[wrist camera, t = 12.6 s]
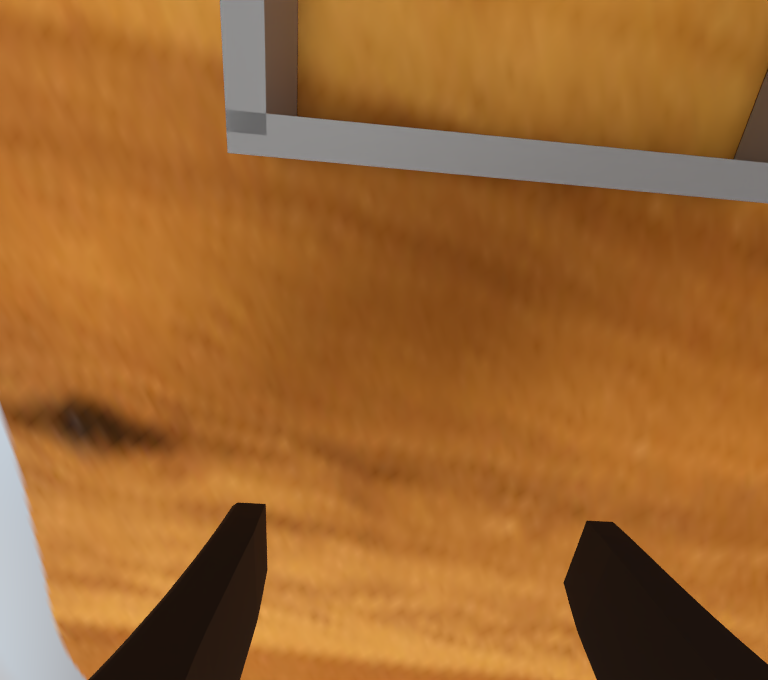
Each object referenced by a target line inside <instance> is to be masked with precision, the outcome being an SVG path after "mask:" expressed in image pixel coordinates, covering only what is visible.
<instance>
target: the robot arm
mask: <svg viewBox="0 0 768 680" xmlns="http://www.w3.org/2000/svg"><path fill="white" fill-rule="evenodd" d="M266 574H267V539H266V504H254V503H236V504H235V505H233V506H232V508H231V509H230V511H229V512H228V514H227V515H226V517H225V518H224V519H223V521H222V522H221V524H220V525H219V527H218V528H217V529H216V531H215V532H214V534H213V535H212V536H211V538H210V539H209V541H208V542H207V543H206V545H205V546H204V547H203V549H202V550H201V551H200V552H199V554H198V555H197V556H196V558H195V559H194V560H193V562H192V563H191V564H190V565H189V567H188V568H187V569H186V570H185V572H184V573H183V574H182V575H181V577H180V578H179V579H178V580H177V582H176V583H175V584H174V585H173V587H172V588H171V589H170V590H169V592H168V593H167V594H166V595H165V596H164V598H163V599H162V600H161V601H160V602H159V603H158V604H157V606H156V607H155V608H154V609H153V610H152V611H151V612H150V614H149V615H148V616H147V617H146V618H145V619H144V620H143V622H142V623H141V624H140V625H139V626H138V627H137V628H136V630H135V631H134V632H133V633H132V634H131V635H130V636H129V638H128V639H127V640H126V641H125V642H124V643H123V644H122V645H121V646H120V647H119V648H118V649H117V650H116V652H115V653H114V654H113V655H112V656H111V657H110V658H109V659H108V660H107V661H106V662H105V663H104V664H103V665H102V666H101V667H100V668H99V670H98V671H97V672H96V673H95V674H94V675H93V676H92V677H91V678H90V679H89V680H240V678H241V674H242V671H243V668H244V664H245V661H246V657H247V654H248V651H249V647H250V644H251V640H252V637H253V634H254V630H255V627H256V623H257V620H258V615H259V610H260V605H261V600H262V595H263V590H264V584H265V579H266ZM564 586H565V589H566V593H567V597H568V600H569V604H570V608H571V611H572V615H573V618H574V621H575V625H576V628H577V631H578V634H579V637H580V639H581V642H582V644H583V647H584V649H585V652H586V654H587V657H588V659H589V661H590V664H591V666H592V669H593V671H594V674H595V676H596V679H597V680H768V664H767V663H765V662H764V661H763V660H762V659H761V658H760V657H759V656H757V655H756V654H755V653H754V652H753V651H752V650H750V649H749V648H748V647H747V646H746V645H745V644H743V643H742V642H741V641H740V640H739V639H738V638H737V637H735V636H734V635H733V634H732V633H731V632H730V631H729V630H728V629H727V628H725V627H724V626H723V625H722V624H721V623H720V622H719V621H718V620H717V619H715V618H714V617H713V616H712V615H711V614H710V613H709V612H708V611H707V610H706V609H705V608H703V607H702V606H701V605H700V604H699V603H698V602H697V601H696V600H695V599H694V598H693V597H692V596H691V595H689V594H688V593H687V592H686V591H685V590H684V589H683V588H682V587H681V586H680V585H679V584H678V583H677V582H676V581H675V580H674V579H673V578H672V577H670V576H669V575H668V574H667V573H666V572H665V571H664V570H663V569H662V568H661V567H660V566H659V565H658V564H657V563H656V562H655V561H654V560H653V559H652V558H651V557H650V556H649V555H648V554H647V553H645V552H644V551H643V550H642V549H641V548H640V547H639V546H638V545H637V544H636V543H635V542H634V541H633V540H632V539H631V538H630V537H629V536H628V535H627V534H625V533H624V532H623V531H622V530H621V529H620V528H619V527H618V526H617V525H616V524H615V523H613V522H602V521H586V524H585V527H584V529H583V532H582V535H581V537H580V540H579V543H578V546H577V548H576V551H575V554H574V556H573V559H572V562H571V564H570V567H569V570H568V572H567V575H566V578H565V580H564Z"/></svg>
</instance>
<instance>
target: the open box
mask: <svg viewBox="0 0 768 680" xmlns="http://www.w3.org/2000/svg"><path fill="white" fill-rule="evenodd" d="M220 13H221V32H222V51H223V71H224V90H225V110H226V129H227V148H228V153H235V154H246V155H257V156H267V157H278V158H289V159H299V160H310V161H321V162H332V163H342V164H353V165H364V166H374V167H385V168H396V169H407V170H417V171H428V172H439V173H449V174H460V175H471V176H481V177H492V178H503V179H514V180H524V181H535V182H546V183H556V184H567V185H578V186H589V187H599V188H610V189H621V190H631V191H642V192H653V193H663V194H674V195H685V196H696V197H706V198H717V199H728V200H738V201H749V202H760V203H768V71H767V74H766V77H765V79H764V82H763V84H762V87H761V90H760V92H759V95H758V97H757V100H756V103H755V105H754V108H753V110H752V113H751V116H750V118H749V121H748V124H747V126H746V129H745V131H744V134H743V137H742V139H741V142H740V144H739V147H738V150H737V152H736V155H735V157H734V160H733V159H723V158H713V157H702V156H692V155H682V154H672V153H662V152H652V151H642V150H631V149H621V148H611V147H601V146H591V145H581V144H571V143H560V142H550V141H540V140H530V139H520V138H510V137H500V136H489V135H479V134H469V133H459V132H449V131H439V130H429V129H418V128H408V127H398V126H388V125H378V124H368V123H358V122H347V121H337V120H327V119H317V118H307V117H297V57H298V0H220Z"/></svg>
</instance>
